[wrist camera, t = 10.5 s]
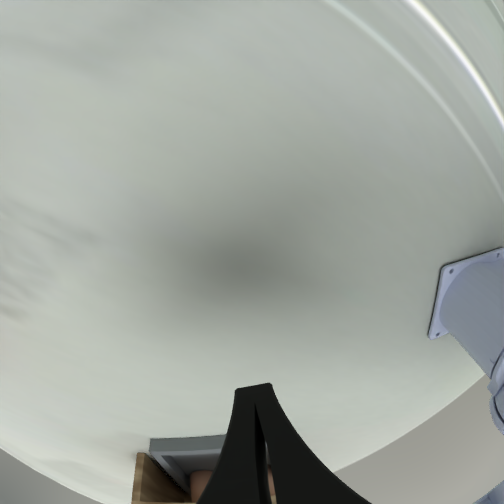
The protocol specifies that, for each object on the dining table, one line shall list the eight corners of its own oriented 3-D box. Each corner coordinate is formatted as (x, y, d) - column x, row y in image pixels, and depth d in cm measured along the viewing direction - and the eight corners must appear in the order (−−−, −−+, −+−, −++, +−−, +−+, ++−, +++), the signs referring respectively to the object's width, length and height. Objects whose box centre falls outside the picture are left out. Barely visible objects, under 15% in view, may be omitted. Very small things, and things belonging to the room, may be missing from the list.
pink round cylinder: (265, 460, 30) (271, 490, 26) (275, 469, 32) (282, 496, 28) (236, 468, 30) (240, 497, 26) (248, 476, 32) (253, 503, 28)
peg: (211, 468, 30) (215, 497, 26) (224, 476, 32) (228, 503, 28) (183, 473, 30) (186, 501, 26) (198, 481, 32) (201, 508, 28)
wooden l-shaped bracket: (286, 439, 29) (300, 500, 21) (293, 482, 35) (302, 525, 28) (137, 453, 28) (130, 509, 20) (180, 494, 34) (180, 536, 27)
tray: (276, 422, 28) (280, 440, 26) (284, 478, 35) (287, 491, 33) (151, 434, 27) (148, 451, 25) (194, 487, 35) (194, 500, 32)
